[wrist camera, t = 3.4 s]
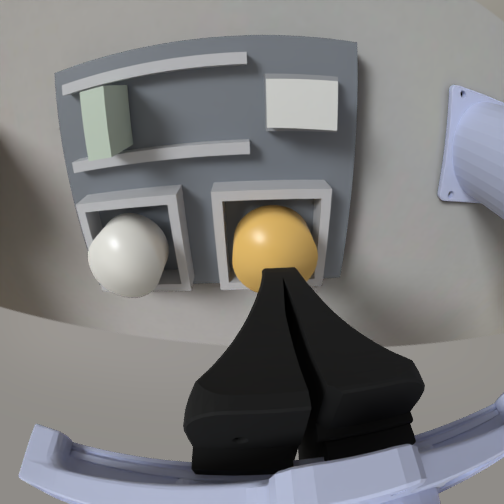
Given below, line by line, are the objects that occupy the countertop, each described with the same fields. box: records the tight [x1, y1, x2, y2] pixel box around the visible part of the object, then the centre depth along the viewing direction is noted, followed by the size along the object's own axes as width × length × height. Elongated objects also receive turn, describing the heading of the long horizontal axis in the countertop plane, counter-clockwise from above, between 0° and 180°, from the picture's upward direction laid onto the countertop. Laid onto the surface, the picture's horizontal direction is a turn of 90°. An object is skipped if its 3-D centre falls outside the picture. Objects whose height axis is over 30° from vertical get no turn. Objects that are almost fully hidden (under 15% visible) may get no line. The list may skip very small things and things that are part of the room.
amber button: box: [232, 205, 318, 292], centre depth 15 cm, size 4×4×2 cm
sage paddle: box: [80, 85, 133, 161], centre depth 12 cm, size 1×3×3 cm, turn 2°
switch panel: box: [55, 35, 358, 291], centre depth 15 cm, size 16×14×3 cm
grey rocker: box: [266, 79, 338, 131], centre depth 12 cm, size 3×2×1 cm
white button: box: [88, 213, 169, 298], centre depth 15 cm, size 4×4×2 cm
